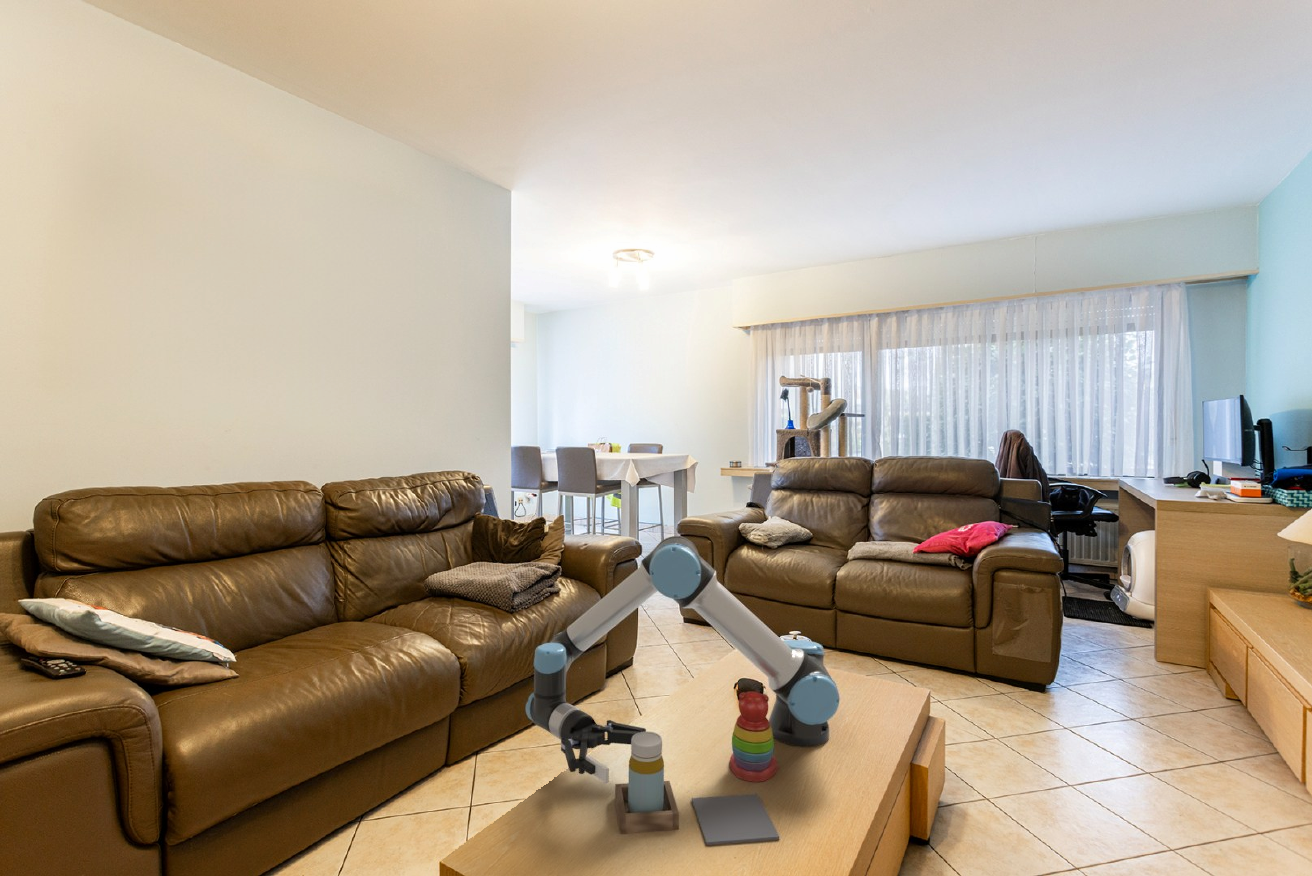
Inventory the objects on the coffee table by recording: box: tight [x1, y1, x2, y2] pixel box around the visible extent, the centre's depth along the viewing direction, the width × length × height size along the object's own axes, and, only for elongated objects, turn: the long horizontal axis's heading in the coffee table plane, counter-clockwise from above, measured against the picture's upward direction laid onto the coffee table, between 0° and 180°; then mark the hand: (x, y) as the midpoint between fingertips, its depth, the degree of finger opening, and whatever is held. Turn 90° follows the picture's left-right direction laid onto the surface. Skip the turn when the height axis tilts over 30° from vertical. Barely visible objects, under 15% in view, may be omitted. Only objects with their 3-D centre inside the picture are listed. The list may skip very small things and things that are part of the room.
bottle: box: [627, 731, 665, 813], centre depth 125 cm, size 7×7×15 cm
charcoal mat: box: [691, 793, 780, 846], centre depth 124 cm, size 14×14×1 cm
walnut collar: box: [614, 780, 680, 835], centre depth 125 cm, size 11×11×3 cm
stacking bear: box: [729, 690, 778, 782], centre depth 142 cm, size 11×10×18 cm
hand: (633, 763), depth 127 cm, fingers open, 13 cm apart
